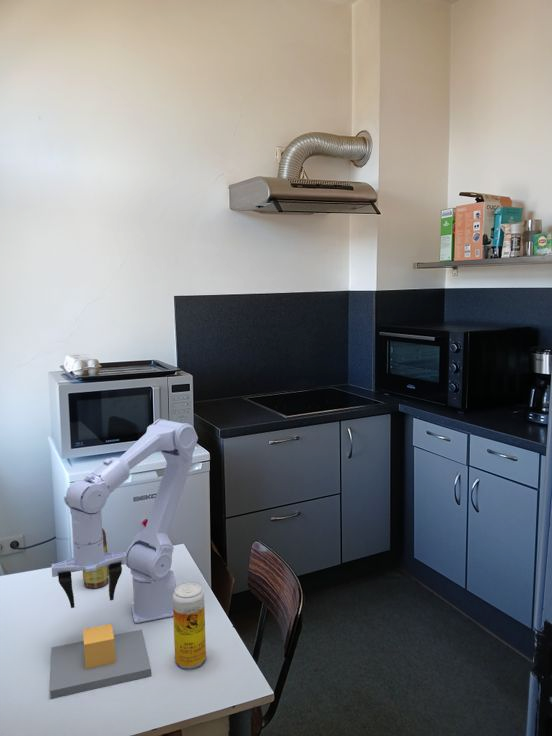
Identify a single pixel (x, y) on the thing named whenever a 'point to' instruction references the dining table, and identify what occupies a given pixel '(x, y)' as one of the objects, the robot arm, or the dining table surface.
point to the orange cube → (99, 646)
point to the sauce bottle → (97, 572)
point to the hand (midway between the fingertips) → (92, 601)
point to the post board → (76, 678)
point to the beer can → (189, 625)
